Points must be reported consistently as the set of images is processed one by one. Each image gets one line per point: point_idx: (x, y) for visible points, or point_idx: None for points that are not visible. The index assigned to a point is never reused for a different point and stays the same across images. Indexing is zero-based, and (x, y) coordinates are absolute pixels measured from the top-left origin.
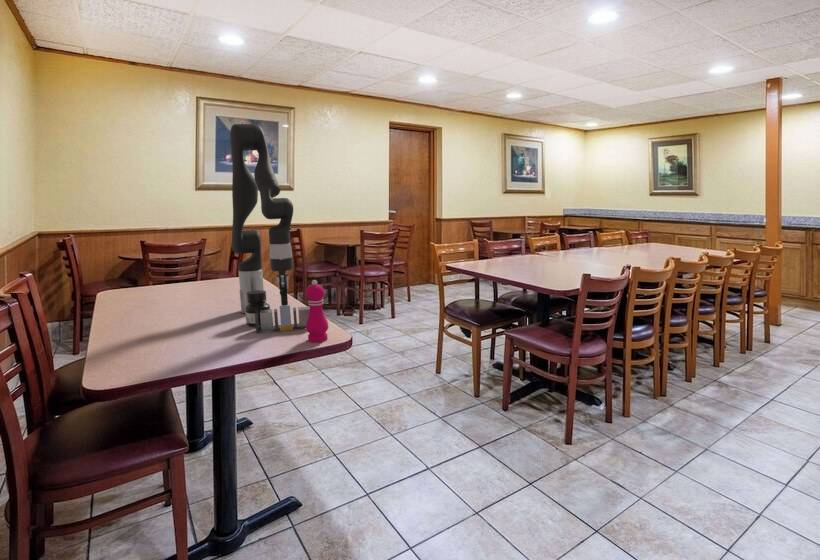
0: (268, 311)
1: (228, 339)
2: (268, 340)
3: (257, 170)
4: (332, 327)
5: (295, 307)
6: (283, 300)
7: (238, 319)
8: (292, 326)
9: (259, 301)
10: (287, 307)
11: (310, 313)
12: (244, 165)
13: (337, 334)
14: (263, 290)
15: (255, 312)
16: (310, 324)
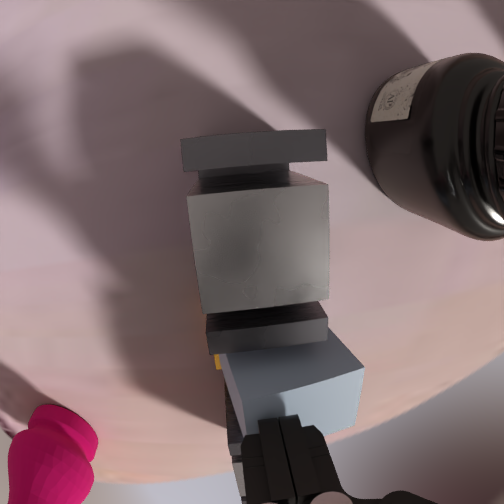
0: (245, 278)
1: (106, 10)
2: (42, 246)
3: None
4: (227, 470)
5: None
6: (243, 471)
7: (500, 49)
8: (216, 365)
9: (499, 176)
10: (244, 435)
11: (11, 496)
12: None
13: (131, 475)
14: None
15: (234, 140)
16: (8, 458)
